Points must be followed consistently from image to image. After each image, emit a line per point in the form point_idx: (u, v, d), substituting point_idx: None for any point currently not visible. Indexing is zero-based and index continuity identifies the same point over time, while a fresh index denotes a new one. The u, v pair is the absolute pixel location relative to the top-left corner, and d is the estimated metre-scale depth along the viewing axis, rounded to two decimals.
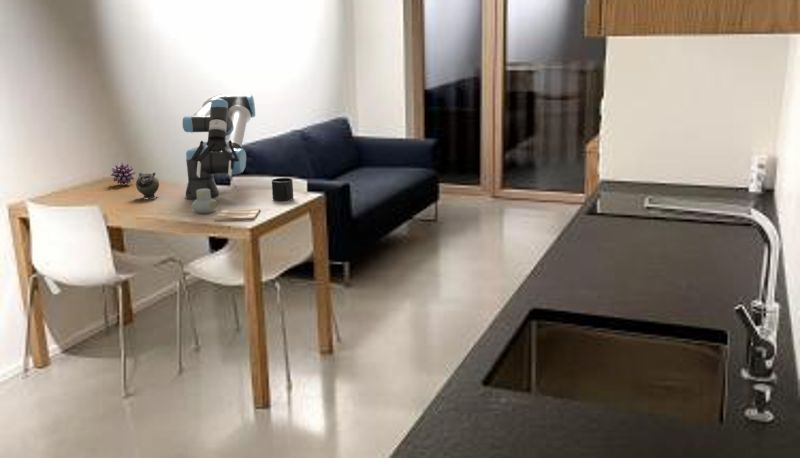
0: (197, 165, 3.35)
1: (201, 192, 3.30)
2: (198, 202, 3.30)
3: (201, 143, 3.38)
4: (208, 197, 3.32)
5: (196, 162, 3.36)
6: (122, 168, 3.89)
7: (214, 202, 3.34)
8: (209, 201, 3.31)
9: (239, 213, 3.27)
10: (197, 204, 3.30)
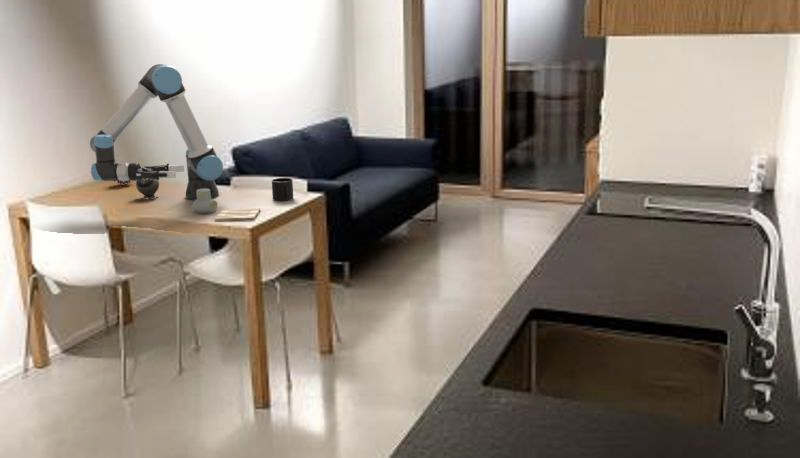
0: None
1: (201, 192, 3.30)
2: (198, 202, 3.30)
3: None
4: (208, 197, 3.32)
5: None
6: None
7: (214, 202, 3.34)
8: (209, 201, 3.31)
9: (239, 213, 3.27)
10: (197, 204, 3.30)
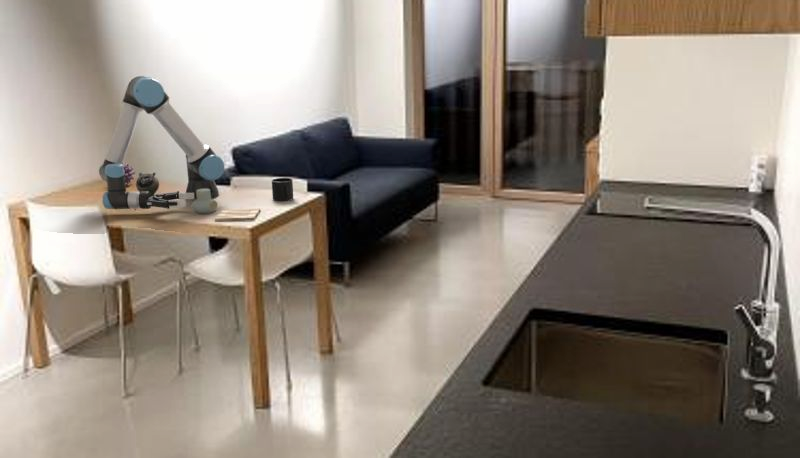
0: (184, 198, 3.40)
1: (201, 192, 3.30)
2: (198, 202, 3.30)
3: None
4: (208, 197, 3.32)
5: None
6: None
7: (214, 202, 3.34)
8: (209, 201, 3.31)
9: (239, 213, 3.27)
10: (197, 204, 3.30)
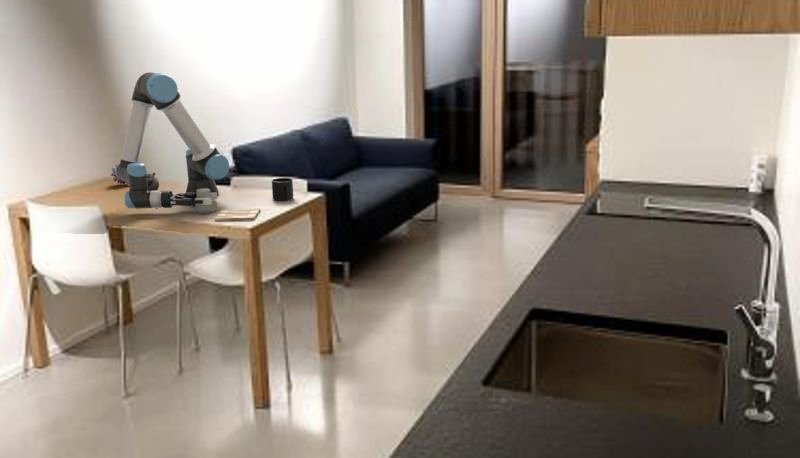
0: None
1: (201, 192, 3.30)
2: None
3: None
4: (208, 197, 3.32)
5: None
6: None
7: (214, 202, 3.34)
8: None
9: (239, 213, 3.27)
10: None
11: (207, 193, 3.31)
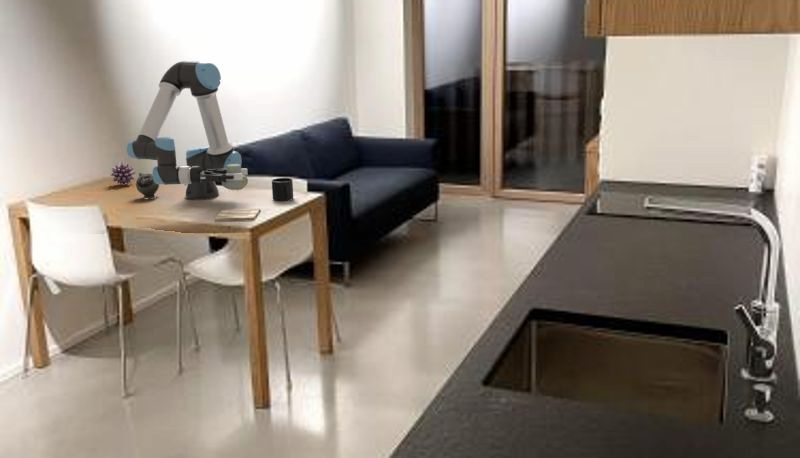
0: None
1: (232, 167, 3.19)
2: None
3: None
4: None
5: None
6: (122, 168, 3.89)
7: (245, 178, 3.23)
8: None
9: (239, 213, 3.27)
10: None
11: (238, 168, 3.20)
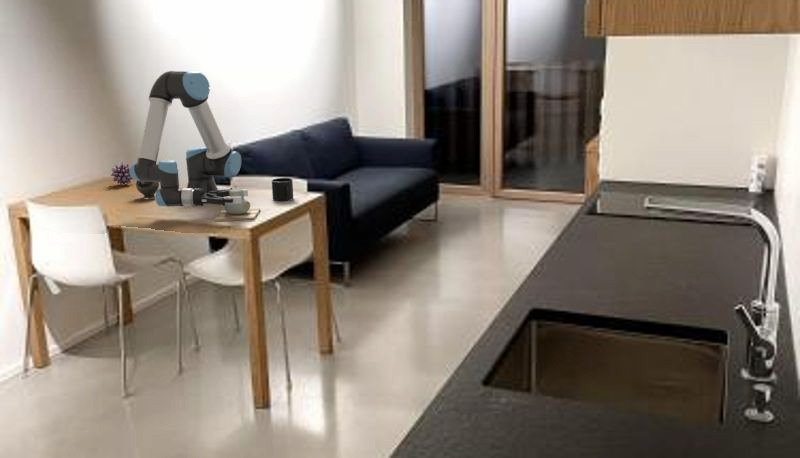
0: None
1: (234, 192, 3.22)
2: None
3: None
4: (241, 198, 3.24)
5: None
6: (122, 168, 3.89)
7: (247, 203, 3.26)
8: (242, 202, 3.23)
9: None
10: (230, 205, 3.22)
11: (240, 194, 3.23)
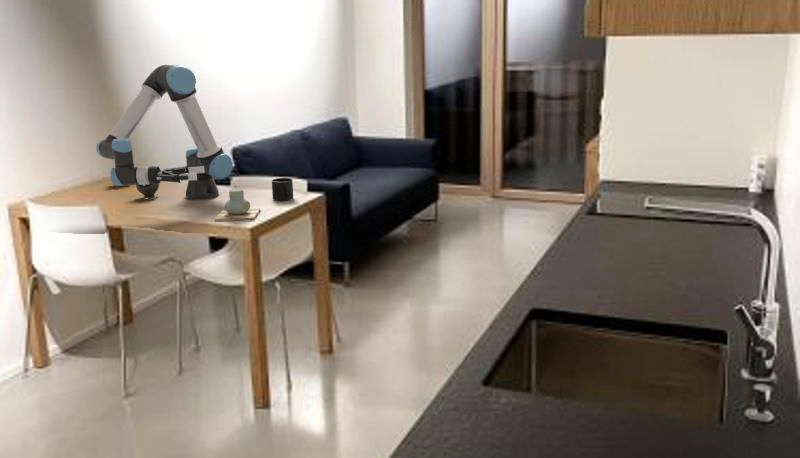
0: (194, 172, 3.31)
1: (234, 192, 3.22)
2: (231, 203, 3.22)
3: None
4: (241, 198, 3.24)
5: None
6: None
7: (247, 203, 3.26)
8: (242, 202, 3.23)
9: None
10: (230, 205, 3.22)
11: (240, 194, 3.23)
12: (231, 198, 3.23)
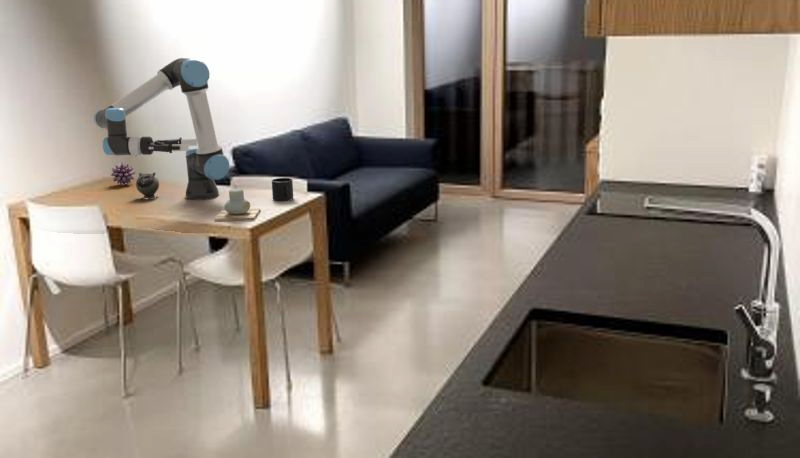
0: None
1: (234, 192, 3.22)
2: (231, 203, 3.22)
3: None
4: (241, 198, 3.24)
5: None
6: (122, 168, 3.89)
7: (247, 203, 3.26)
8: (242, 202, 3.23)
9: None
10: (230, 205, 3.22)
11: (240, 194, 3.23)
12: (231, 198, 3.23)
